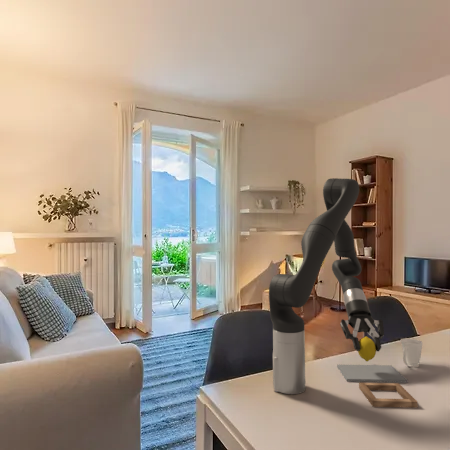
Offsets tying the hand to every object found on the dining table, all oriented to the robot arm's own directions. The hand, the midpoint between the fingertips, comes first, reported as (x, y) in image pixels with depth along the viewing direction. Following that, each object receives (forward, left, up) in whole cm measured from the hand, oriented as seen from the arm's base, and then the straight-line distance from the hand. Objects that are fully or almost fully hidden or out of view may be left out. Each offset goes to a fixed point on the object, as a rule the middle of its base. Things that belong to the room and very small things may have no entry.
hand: (368, 350), depth 113 cm
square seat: (0, -14, -8) cm, 17 cm away
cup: (+17, +10, -9) cm, 21 cm away
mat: (+1, +2, -8) cm, 8 cm away
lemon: (0, +2, -4) cm, 5 cm away
